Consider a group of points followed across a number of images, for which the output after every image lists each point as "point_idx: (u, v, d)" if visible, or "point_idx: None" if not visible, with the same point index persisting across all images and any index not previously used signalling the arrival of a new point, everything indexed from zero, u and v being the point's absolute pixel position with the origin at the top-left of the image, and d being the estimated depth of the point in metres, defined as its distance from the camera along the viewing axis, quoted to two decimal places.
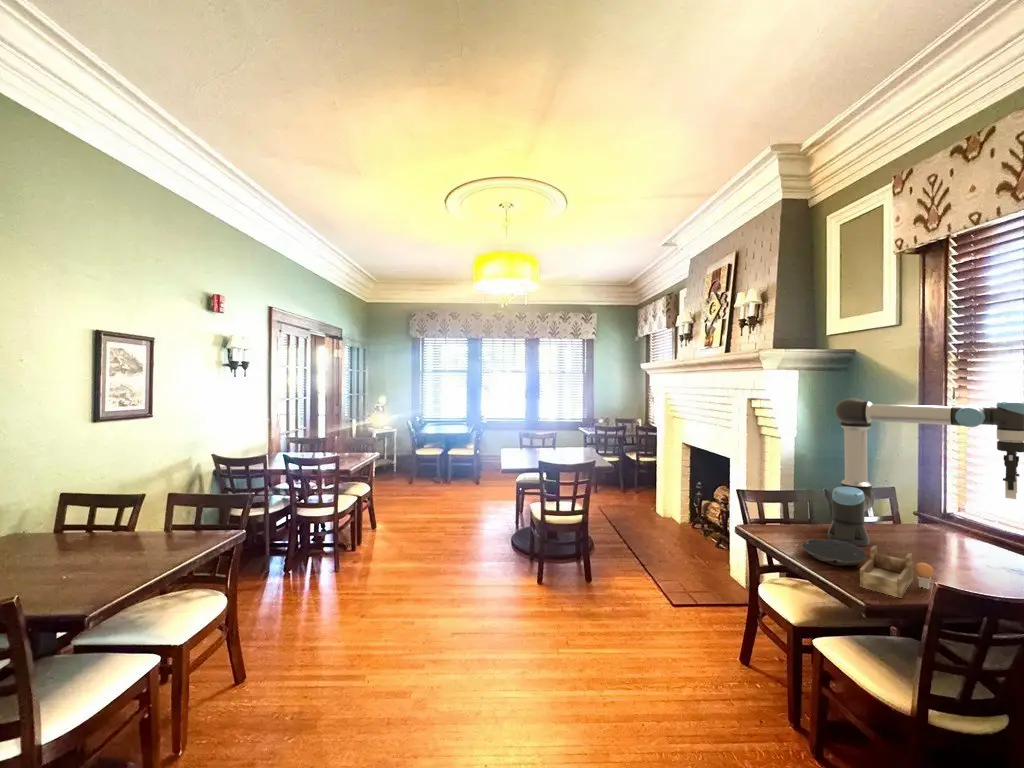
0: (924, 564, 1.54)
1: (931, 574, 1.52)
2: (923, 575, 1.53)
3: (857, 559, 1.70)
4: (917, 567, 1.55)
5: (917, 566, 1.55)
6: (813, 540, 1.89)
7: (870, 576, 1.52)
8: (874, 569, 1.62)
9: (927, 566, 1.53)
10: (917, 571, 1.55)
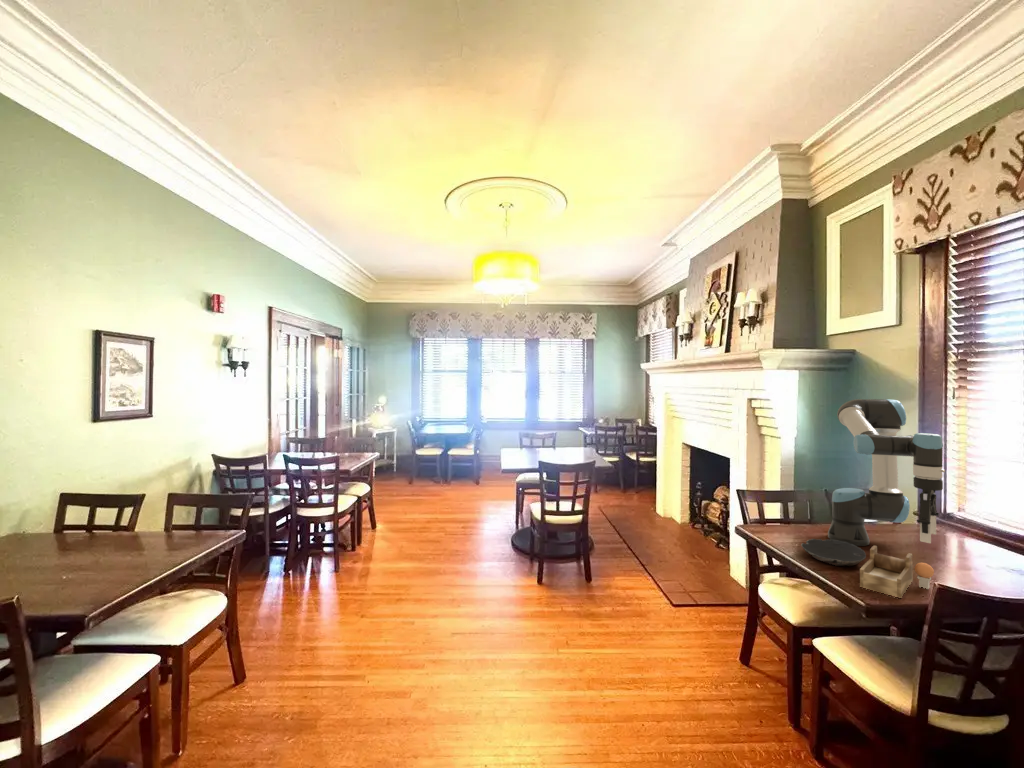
0: (924, 564, 1.54)
1: (931, 574, 1.52)
2: (923, 575, 1.53)
3: (857, 559, 1.70)
4: (917, 567, 1.55)
5: (917, 566, 1.55)
6: (813, 540, 1.89)
7: (870, 576, 1.52)
8: (874, 569, 1.62)
9: (927, 566, 1.53)
10: (917, 571, 1.55)
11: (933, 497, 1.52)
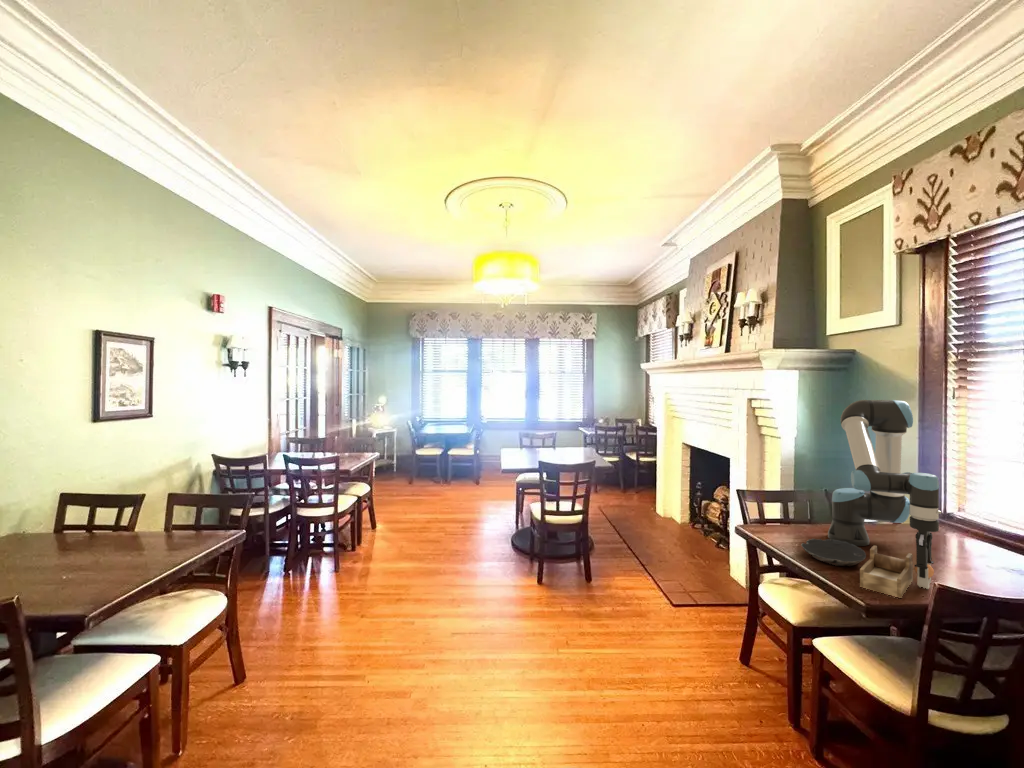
0: None
1: (931, 574, 1.52)
2: None
3: (857, 559, 1.70)
4: None
5: None
6: (813, 540, 1.89)
7: (870, 576, 1.52)
8: (874, 569, 1.62)
9: (927, 566, 1.53)
10: None
11: (929, 538, 1.52)
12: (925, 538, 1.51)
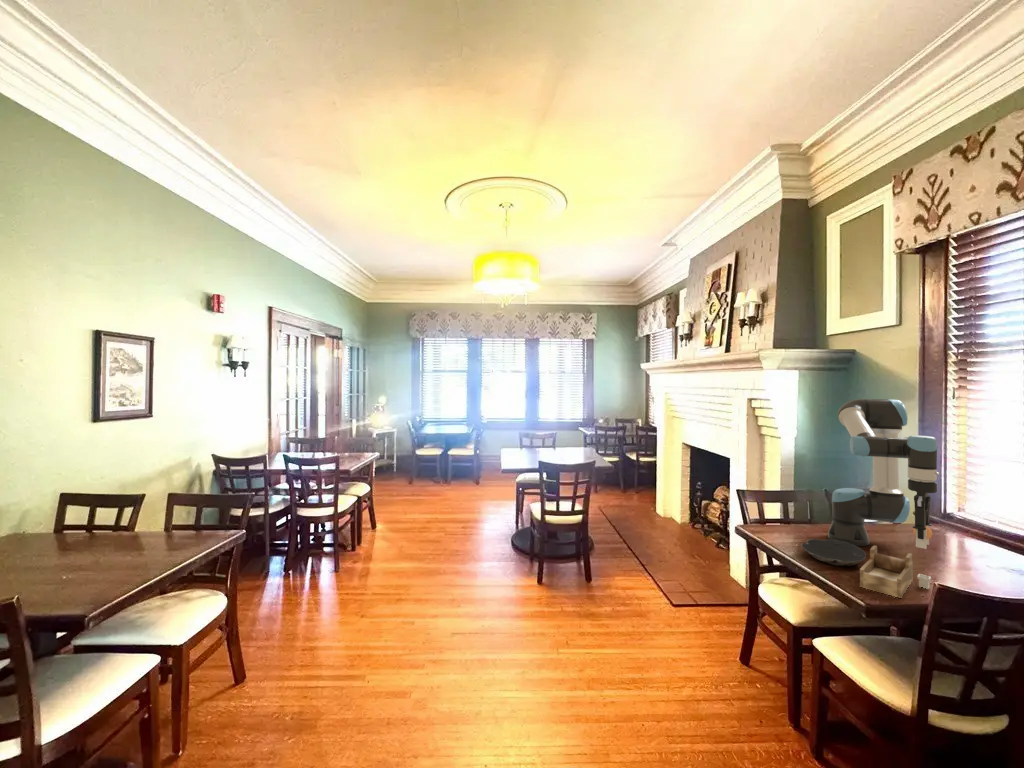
0: None
1: (929, 535, 1.53)
2: None
3: (857, 559, 1.70)
4: (915, 529, 1.55)
5: None
6: (813, 540, 1.89)
7: (870, 576, 1.52)
8: (874, 569, 1.62)
9: None
10: (915, 533, 1.55)
11: (927, 499, 1.52)
12: (923, 499, 1.52)
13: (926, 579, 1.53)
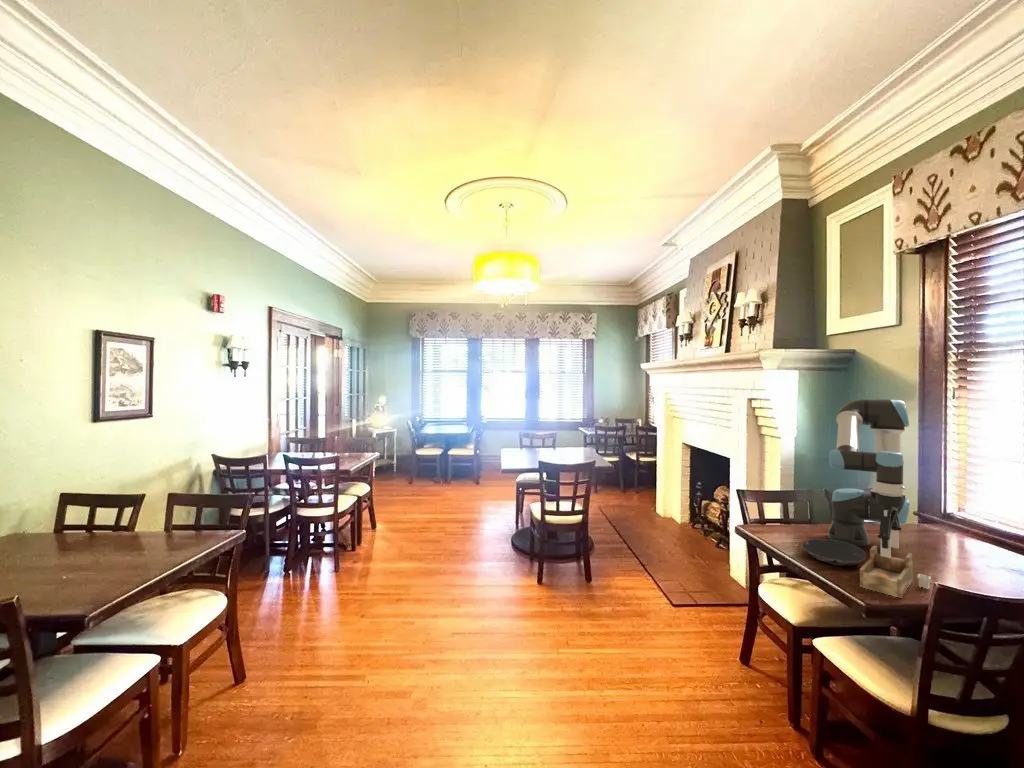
0: (883, 574, 1.53)
1: None
2: None
3: (857, 559, 1.70)
4: None
5: None
6: (813, 540, 1.89)
7: (870, 576, 1.52)
8: (874, 569, 1.62)
9: (885, 575, 1.52)
10: None
11: (894, 513, 1.58)
12: None
13: (926, 579, 1.53)
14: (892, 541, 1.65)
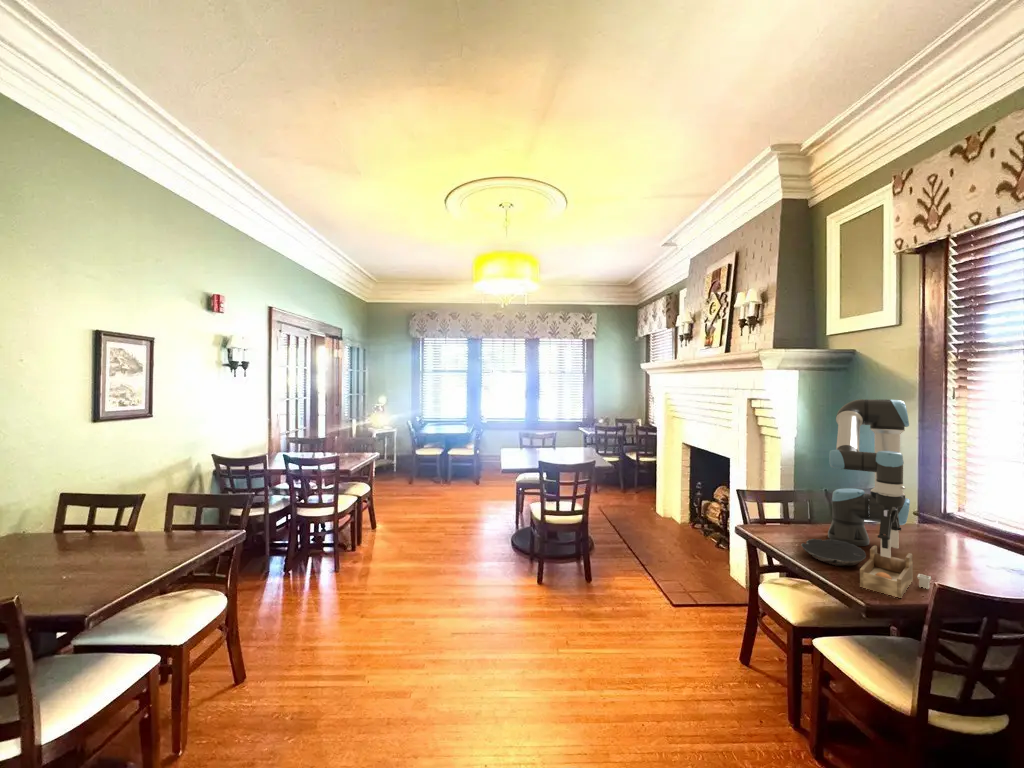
0: None
1: None
2: None
3: (857, 559, 1.70)
4: None
5: None
6: (813, 540, 1.89)
7: (870, 576, 1.52)
8: (874, 569, 1.62)
9: None
10: (877, 574, 1.54)
11: (894, 513, 1.58)
12: None
13: (926, 579, 1.53)
14: (892, 541, 1.65)
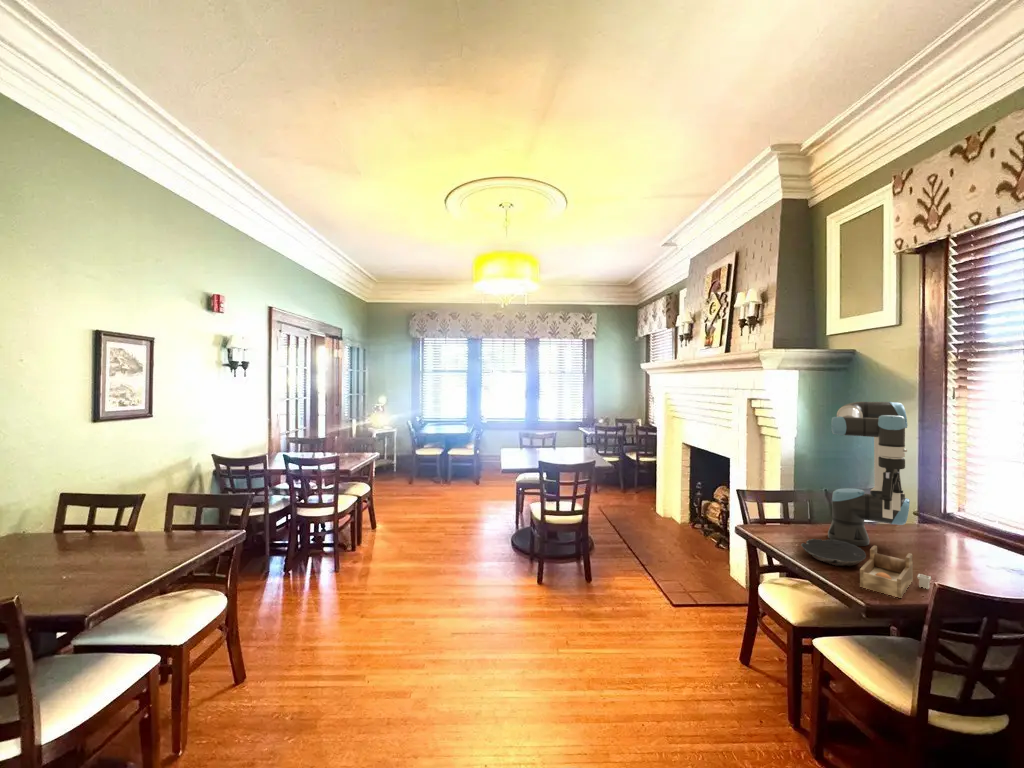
0: None
1: None
2: None
3: (857, 559, 1.70)
4: (877, 573, 1.55)
5: (878, 573, 1.55)
6: (813, 540, 1.89)
7: (870, 576, 1.52)
8: (874, 569, 1.62)
9: None
10: (877, 575, 1.54)
11: (896, 475, 1.60)
12: None
13: (926, 579, 1.53)
14: (894, 504, 1.67)
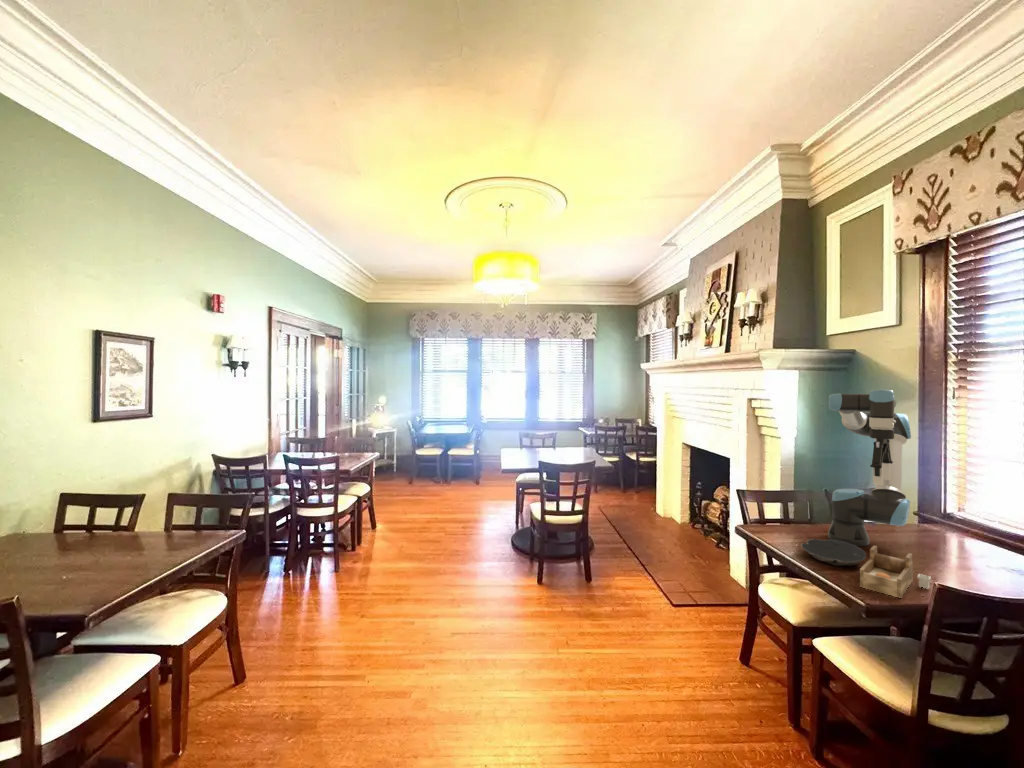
0: None
1: None
2: None
3: (857, 559, 1.70)
4: (877, 573, 1.55)
5: (877, 573, 1.55)
6: (813, 540, 1.89)
7: (870, 576, 1.52)
8: (874, 569, 1.62)
9: None
10: None
11: (885, 445, 1.72)
12: (882, 445, 1.71)
13: (926, 579, 1.53)
14: (884, 473, 1.79)
